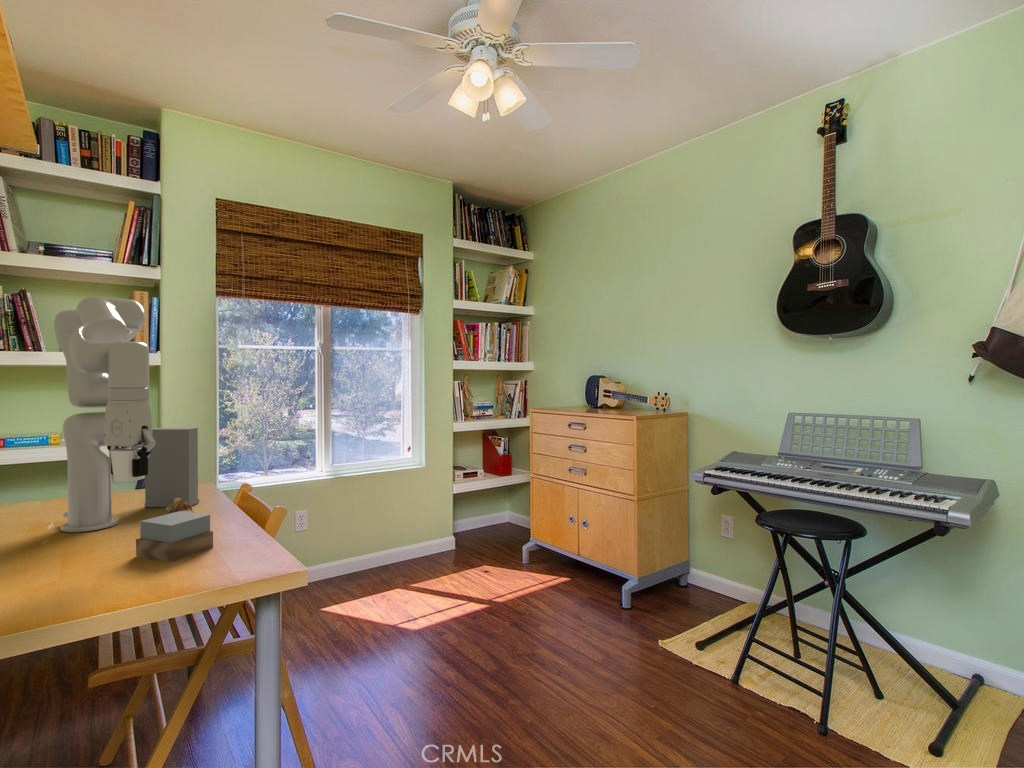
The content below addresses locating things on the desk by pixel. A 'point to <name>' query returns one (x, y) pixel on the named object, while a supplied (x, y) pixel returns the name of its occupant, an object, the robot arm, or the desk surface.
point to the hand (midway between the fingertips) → (129, 474)
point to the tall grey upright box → (172, 467)
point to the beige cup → (123, 464)
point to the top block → (174, 526)
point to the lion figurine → (179, 506)
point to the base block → (173, 547)
